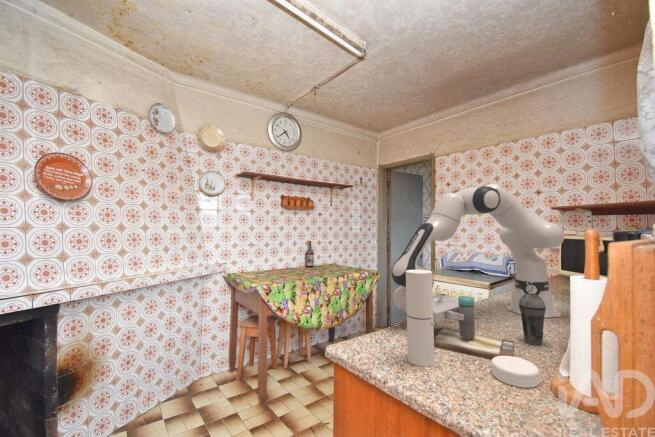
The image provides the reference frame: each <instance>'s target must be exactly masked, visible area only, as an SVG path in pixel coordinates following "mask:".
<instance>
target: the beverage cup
mask: <svg viewBox="0 0 655 437" xmlns="http://www.w3.org/2000/svg"><path fill="white" fill-rule="evenodd" d="M526 283H527V289H528V294H525V295H523V296H522V297H521V299H520V301H519V308H520V312H521V314H520V316H521V323H522V331H523V338H524V343H526V344H529V345H532V346H542V345H543V341H544V340H543V339H544V325H545V318H544V315H545V309H546V307H545V303H544V301H543V299H542V298H541V297H539V296H538V295H536V294H531V293H530V290H529V284H528V280H526Z"/></svg>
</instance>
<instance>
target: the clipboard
mask: <svg viewBox="0 0 655 437" xmlns="http://www.w3.org/2000/svg"><path fill="white" fill-rule="evenodd" d="M514 346H515V341H514V340H509V339H504V338H498V337H492V336H487V335H481V334H476V333H475V337H474V338H465V337H462V336H460V330H454V329H448V328H443V327H440V329H438V331H437V332H436V333H434V348H438V349H442V350H443V349H444V350H447V351H451V352H457V353H461V354H464V355H470V356H474V357H479V358H484V359H488V360H490V361H492V359H493V358H494V357H496V356H512V357H514V356H513V355H514V348H515V347H514Z"/></svg>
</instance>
